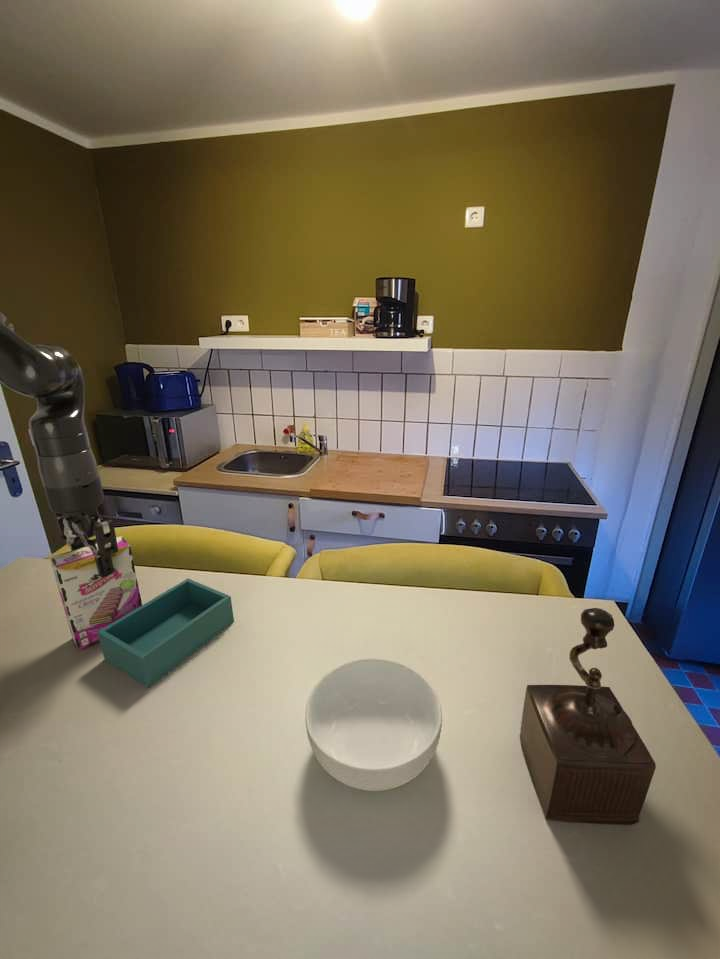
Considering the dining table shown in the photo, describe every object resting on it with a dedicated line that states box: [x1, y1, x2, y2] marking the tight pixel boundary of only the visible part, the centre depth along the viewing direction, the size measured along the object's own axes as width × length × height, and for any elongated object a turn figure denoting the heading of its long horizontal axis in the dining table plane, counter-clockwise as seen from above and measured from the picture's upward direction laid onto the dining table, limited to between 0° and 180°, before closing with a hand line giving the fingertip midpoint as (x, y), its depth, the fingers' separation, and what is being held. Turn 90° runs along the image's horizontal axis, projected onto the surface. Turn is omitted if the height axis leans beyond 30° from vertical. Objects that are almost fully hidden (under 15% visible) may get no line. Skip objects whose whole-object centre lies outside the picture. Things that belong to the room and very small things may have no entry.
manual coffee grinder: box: [519, 607, 657, 826], centre depth 51 cm, size 16×11×18 cm
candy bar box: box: [49, 535, 143, 651], centre depth 75 cm, size 11×5×16 cm, turn 135°
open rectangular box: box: [97, 578, 235, 688], centre depth 74 cm, size 12×18×6 cm, turn 150°
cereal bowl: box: [304, 657, 443, 792], centre depth 55 cm, size 17×17×7 cm
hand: (95, 568), depth 73 cm, fingers open, 6 cm apart
